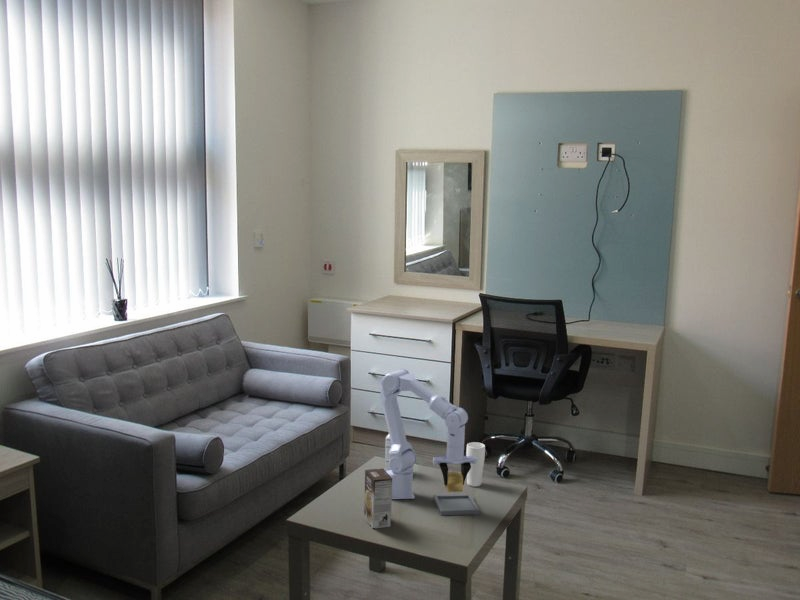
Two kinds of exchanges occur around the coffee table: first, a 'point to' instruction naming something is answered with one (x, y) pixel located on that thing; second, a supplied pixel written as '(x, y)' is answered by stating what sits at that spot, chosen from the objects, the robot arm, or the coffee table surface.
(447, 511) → the tray
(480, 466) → the drinking glass
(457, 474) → the cube
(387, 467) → the syrup box
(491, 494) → the coffee table surface
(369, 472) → the coffee box
